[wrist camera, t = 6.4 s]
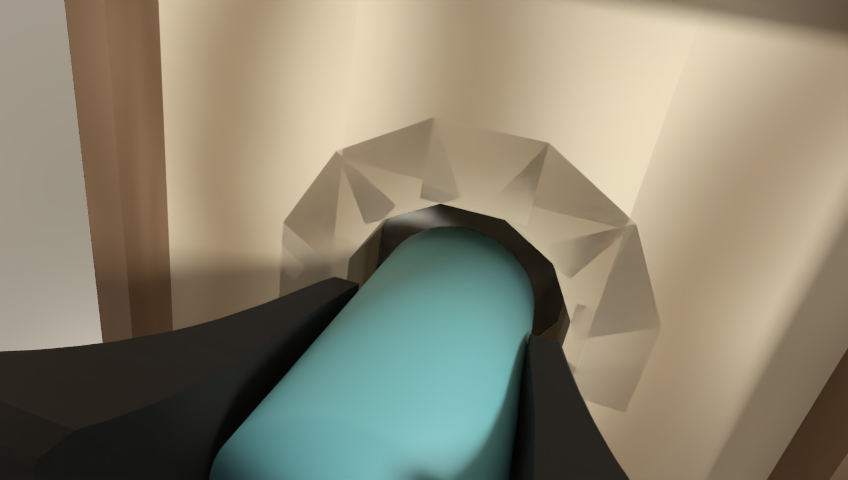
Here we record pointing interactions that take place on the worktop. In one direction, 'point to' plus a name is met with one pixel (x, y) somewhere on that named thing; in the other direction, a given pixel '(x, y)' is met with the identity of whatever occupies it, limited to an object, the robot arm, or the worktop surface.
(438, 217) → the worktop surface
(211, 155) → the walnut box
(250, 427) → the peg
